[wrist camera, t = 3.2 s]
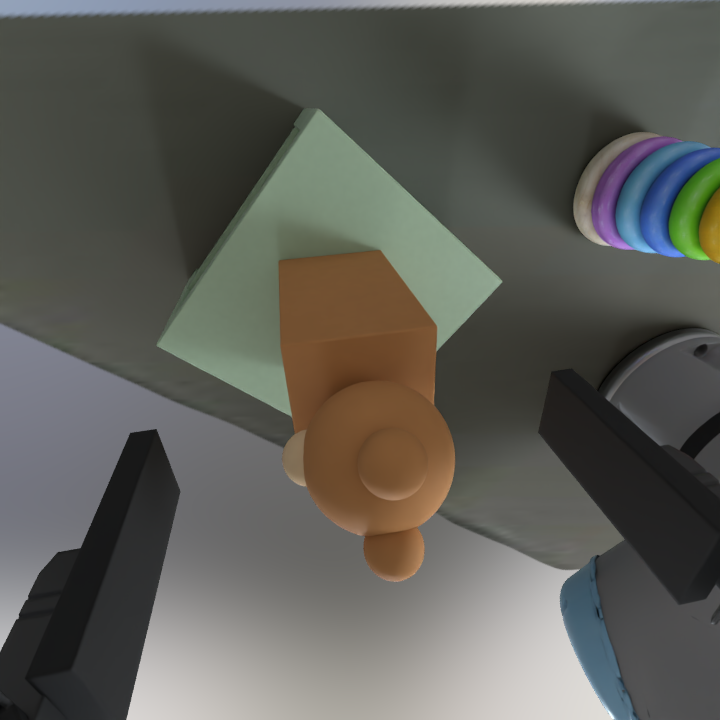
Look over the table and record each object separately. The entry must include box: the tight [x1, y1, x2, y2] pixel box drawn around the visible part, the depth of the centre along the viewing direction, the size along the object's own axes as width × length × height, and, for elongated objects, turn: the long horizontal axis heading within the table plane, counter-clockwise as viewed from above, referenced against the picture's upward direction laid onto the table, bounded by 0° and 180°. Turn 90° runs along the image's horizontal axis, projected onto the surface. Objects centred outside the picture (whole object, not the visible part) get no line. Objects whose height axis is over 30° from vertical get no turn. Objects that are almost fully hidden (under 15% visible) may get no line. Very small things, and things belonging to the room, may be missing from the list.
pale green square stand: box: [156, 108, 502, 417], centre depth 27 cm, size 13×14×10 cm
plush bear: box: [278, 250, 455, 582], centre depth 17 cm, size 6×6×14 cm
